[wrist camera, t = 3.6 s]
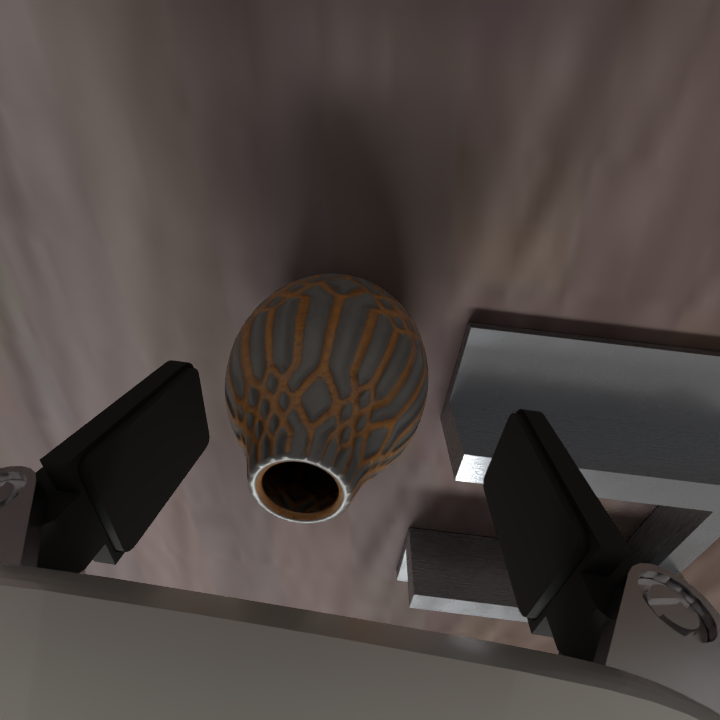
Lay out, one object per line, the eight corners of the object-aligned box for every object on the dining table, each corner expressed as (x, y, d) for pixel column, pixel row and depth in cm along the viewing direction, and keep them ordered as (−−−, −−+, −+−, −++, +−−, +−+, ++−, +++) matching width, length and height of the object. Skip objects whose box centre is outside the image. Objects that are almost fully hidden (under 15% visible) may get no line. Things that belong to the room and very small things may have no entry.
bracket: (468, 322, 14) (504, 385, 10) (819, 363, 14) (1015, 445, 10) (396, 571, 24) (399, 656, 20) (601, 597, 24) (648, 688, 20)
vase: (346, 415, 17) (316, 602, 10) (240, 331, 15) (95, 484, 8) (449, 334, 15) (521, 503, 7) (337, 218, 12) (264, 278, 5)
